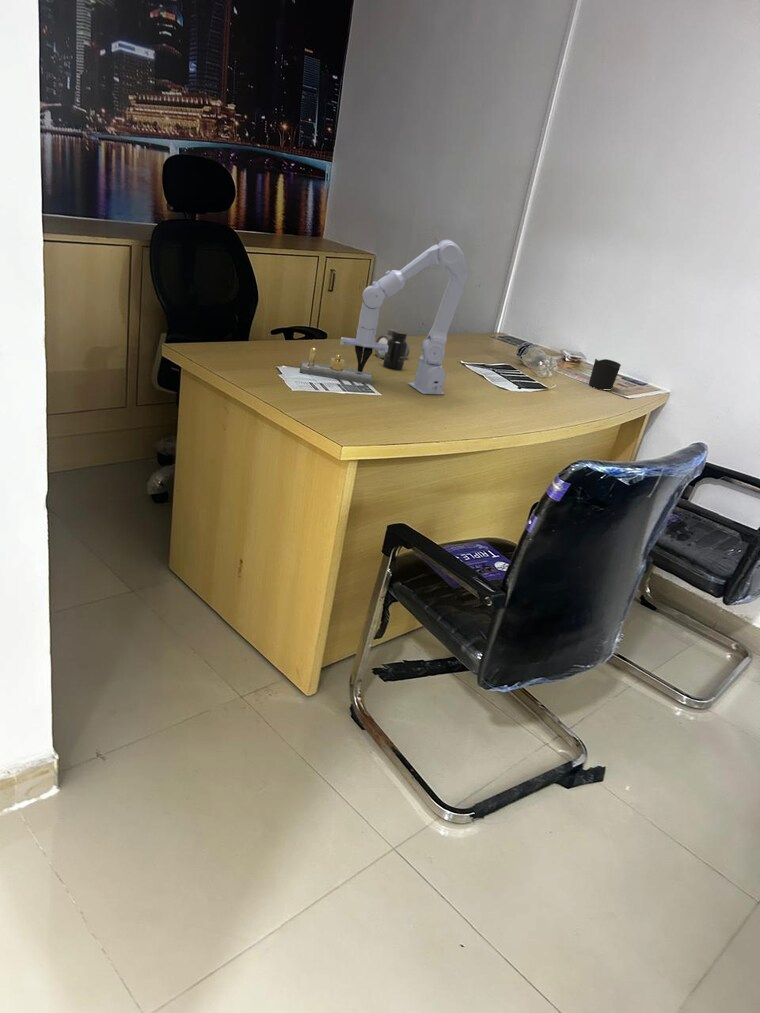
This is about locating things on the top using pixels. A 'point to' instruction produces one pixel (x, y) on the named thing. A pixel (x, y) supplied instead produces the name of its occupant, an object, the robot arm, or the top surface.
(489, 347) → the top surface
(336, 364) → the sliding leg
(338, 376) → the bolt plate
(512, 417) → the top surface
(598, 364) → the pen holder
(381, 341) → the pipe fitting
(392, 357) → the supplement bottle
